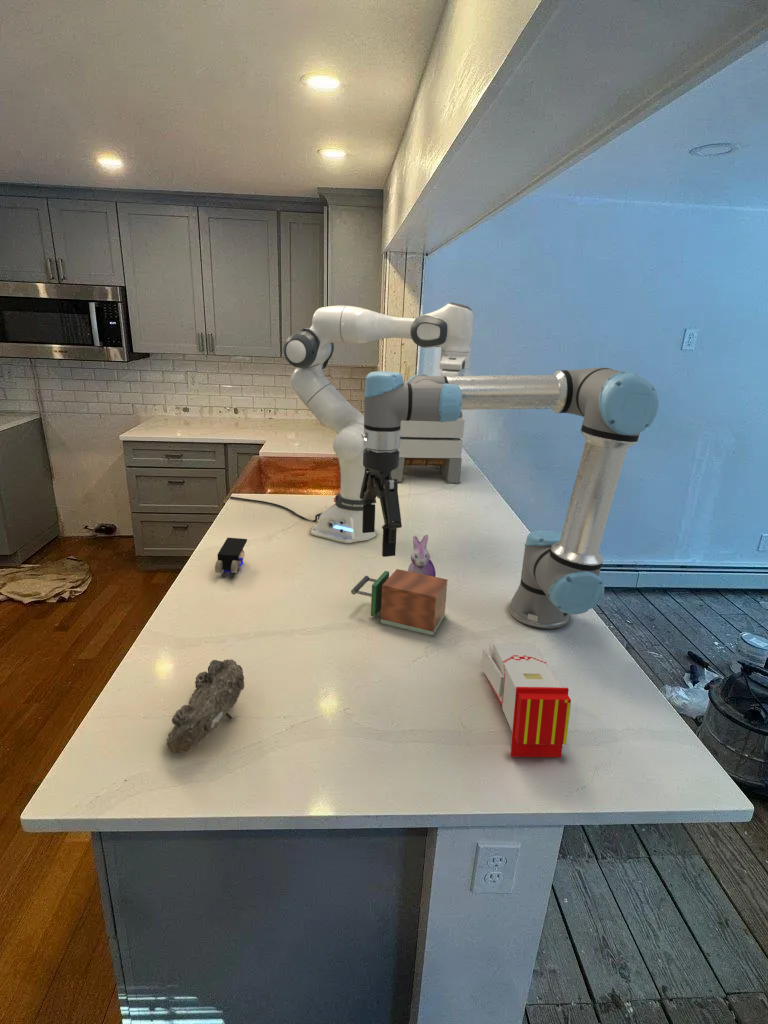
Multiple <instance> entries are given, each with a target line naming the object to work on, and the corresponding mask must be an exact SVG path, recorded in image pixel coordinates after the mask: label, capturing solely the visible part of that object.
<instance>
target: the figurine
mask: <svg viewBox="0 0 768 1024" xmlns="http://www.w3.org/2000/svg"><path fill="white" fill-rule="evenodd" d="M428 542H429V535H428V534H425V535H423V537H422V538H421V541H420V540H419V538H418V536H416V535H413V536H412V547H413V548H412V551H411V553H410V561H411V562H410V564H409V566H408V570H407V571H409V572H414V573H419V574H424V575H428V576H433V577H437V575H436V574H437V573H436V568H435V565H434V562H432V560H431V555H430V552H429V550H428V548H427V546H428Z"/></svg>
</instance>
